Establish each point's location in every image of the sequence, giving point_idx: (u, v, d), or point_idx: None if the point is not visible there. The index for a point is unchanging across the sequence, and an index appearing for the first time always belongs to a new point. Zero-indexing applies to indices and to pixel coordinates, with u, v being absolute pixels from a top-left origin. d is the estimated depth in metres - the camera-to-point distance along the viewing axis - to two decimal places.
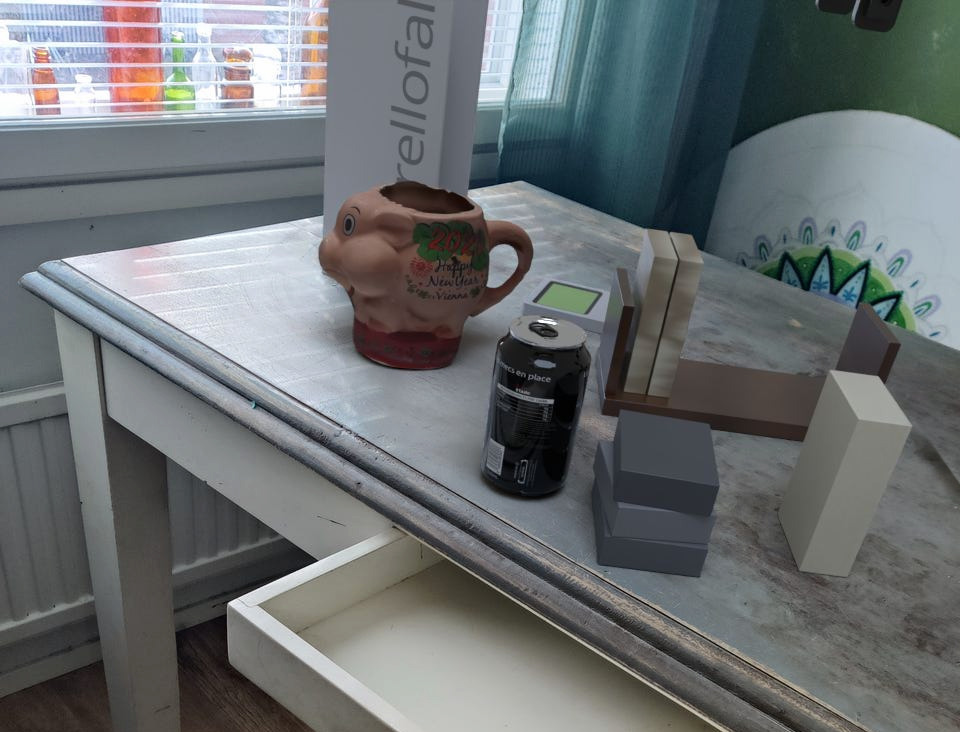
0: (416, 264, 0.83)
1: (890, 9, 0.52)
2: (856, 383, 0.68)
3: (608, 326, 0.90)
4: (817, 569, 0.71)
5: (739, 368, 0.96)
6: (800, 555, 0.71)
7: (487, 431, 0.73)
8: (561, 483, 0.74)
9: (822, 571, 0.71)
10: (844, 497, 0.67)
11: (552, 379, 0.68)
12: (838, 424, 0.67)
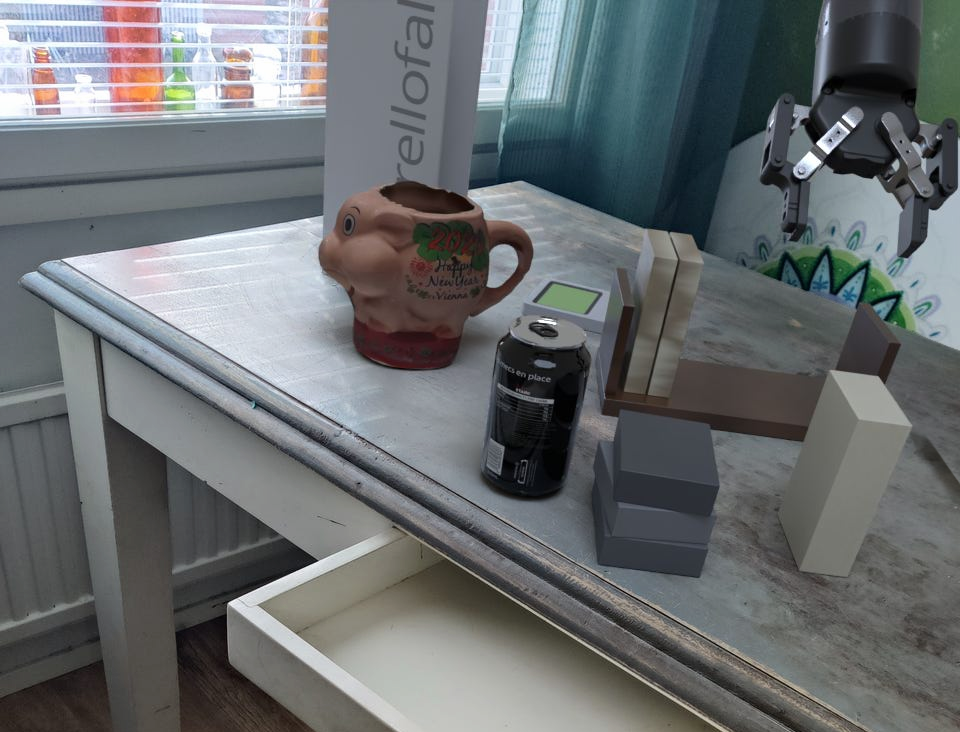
0: (416, 264, 0.83)
1: (786, 217, 0.73)
2: (856, 383, 0.68)
3: (608, 326, 0.90)
4: (817, 569, 0.71)
5: (739, 368, 0.96)
6: (800, 555, 0.71)
7: (487, 431, 0.73)
8: (561, 483, 0.74)
9: (822, 571, 0.71)
10: (844, 497, 0.67)
11: (552, 379, 0.68)
12: (838, 424, 0.67)
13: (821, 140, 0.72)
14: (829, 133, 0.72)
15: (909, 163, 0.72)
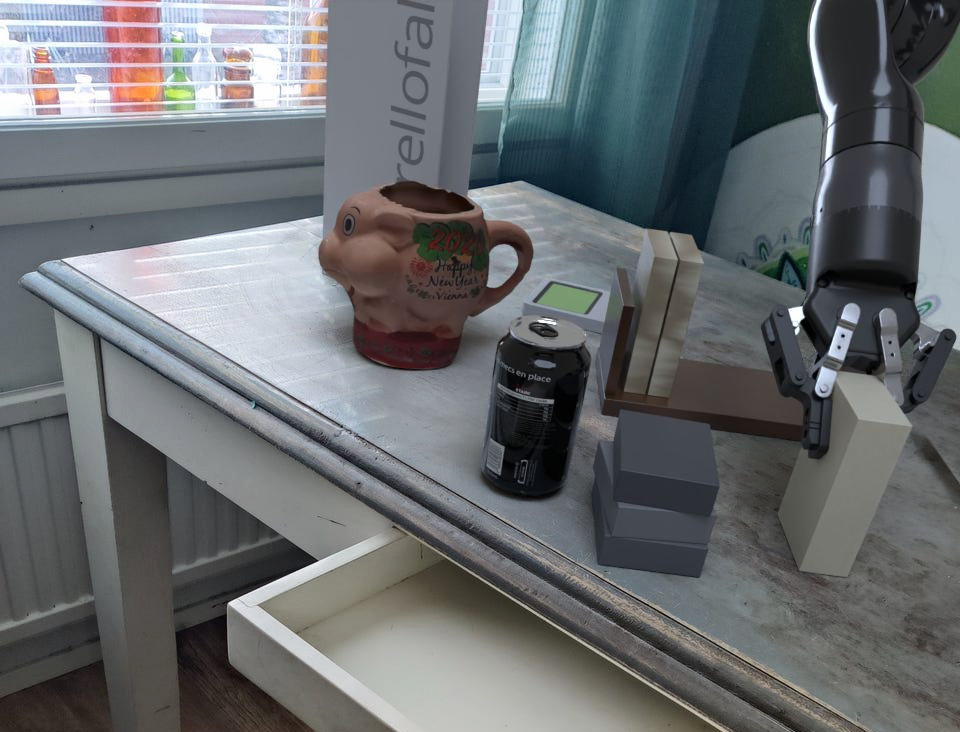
0: (416, 264, 0.83)
1: (807, 437, 0.69)
2: (857, 383, 0.68)
3: (608, 326, 0.90)
4: (817, 569, 0.71)
5: (739, 368, 0.96)
6: (800, 555, 0.71)
7: (487, 431, 0.73)
8: (561, 483, 0.74)
9: (822, 571, 0.71)
10: (844, 497, 0.67)
11: (552, 379, 0.68)
12: (838, 424, 0.67)
13: (830, 351, 0.68)
14: (835, 341, 0.68)
15: (889, 366, 0.68)
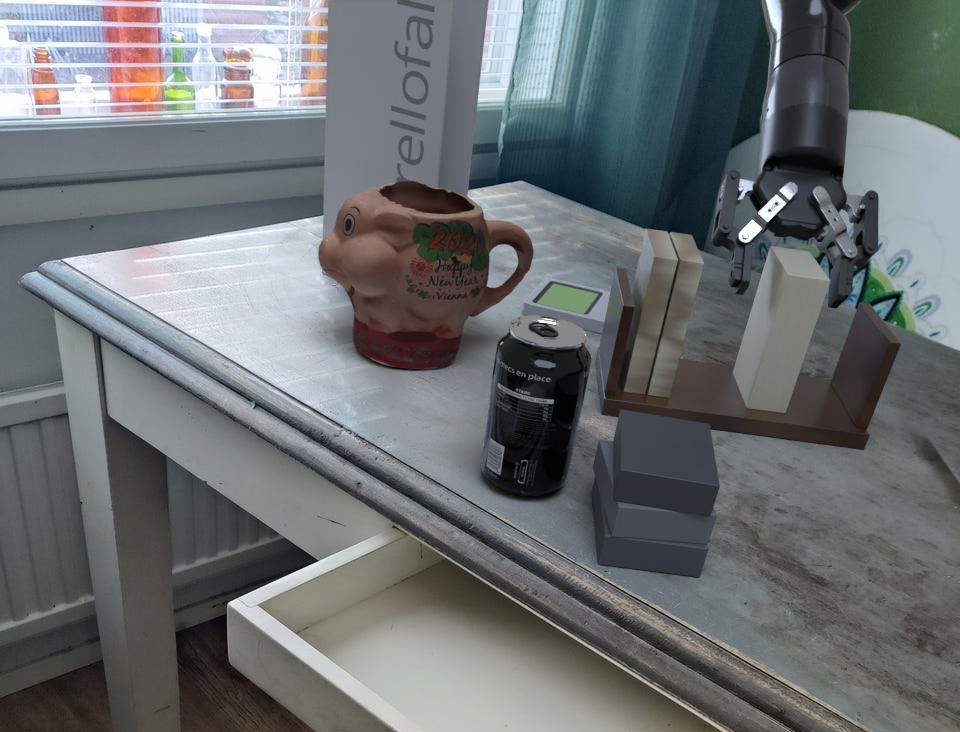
0: (416, 264, 0.83)
1: (732, 275, 0.86)
2: (790, 254, 0.86)
3: (608, 326, 0.90)
4: (761, 406, 0.89)
5: None
6: (748, 395, 0.89)
7: (487, 431, 0.73)
8: (561, 483, 0.74)
9: (765, 408, 0.89)
10: (780, 342, 0.85)
11: (552, 379, 0.68)
12: (775, 284, 0.85)
13: (762, 210, 0.86)
14: (768, 204, 0.86)
15: (836, 229, 0.86)
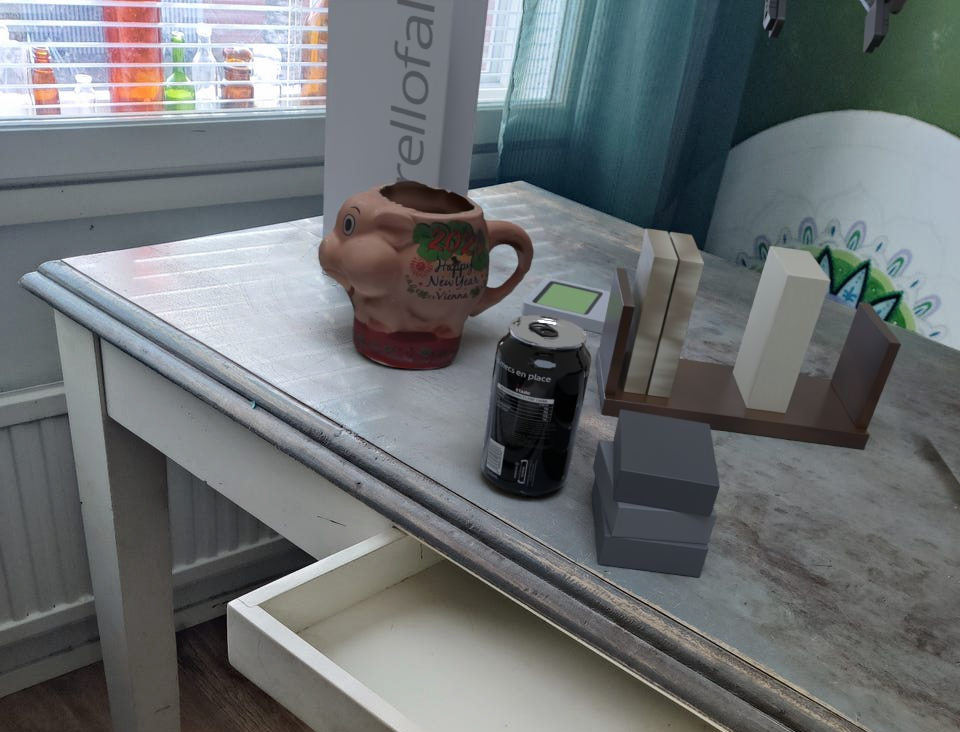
0: (416, 264, 0.83)
1: (767, 15, 0.85)
2: (790, 254, 0.86)
3: (608, 326, 0.90)
4: (761, 406, 0.89)
5: None
6: (748, 395, 0.89)
7: (487, 431, 0.73)
8: (561, 483, 0.74)
9: (765, 408, 0.89)
10: (780, 342, 0.85)
11: (552, 379, 0.68)
12: (775, 284, 0.85)
13: None
14: None
15: None
